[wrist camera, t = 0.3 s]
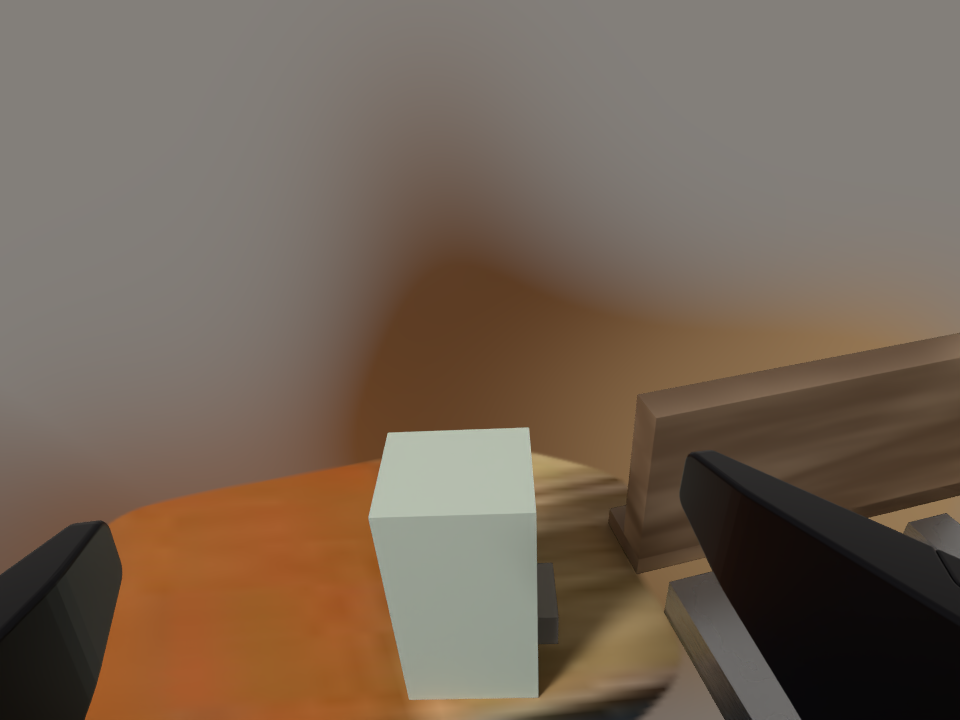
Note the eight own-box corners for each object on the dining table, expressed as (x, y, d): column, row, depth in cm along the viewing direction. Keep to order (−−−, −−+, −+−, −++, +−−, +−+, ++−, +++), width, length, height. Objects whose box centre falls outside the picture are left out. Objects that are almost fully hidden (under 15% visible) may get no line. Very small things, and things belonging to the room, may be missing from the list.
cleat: (1093, 688, 22) (1121, 656, 21) (766, 793, 20) (779, 764, 19) (931, 543, 28) (946, 512, 27) (664, 612, 26) (669, 581, 25)
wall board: (966, 493, 30) (1045, 340, 25) (636, 574, 27) (656, 418, 23) (914, 453, 33) (976, 308, 28) (608, 523, 30) (620, 373, 25)
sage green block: (559, 697, 23) (563, 511, 18) (409, 699, 23) (368, 518, 18) (550, 605, 26) (551, 426, 21) (419, 608, 26) (388, 432, 21)
